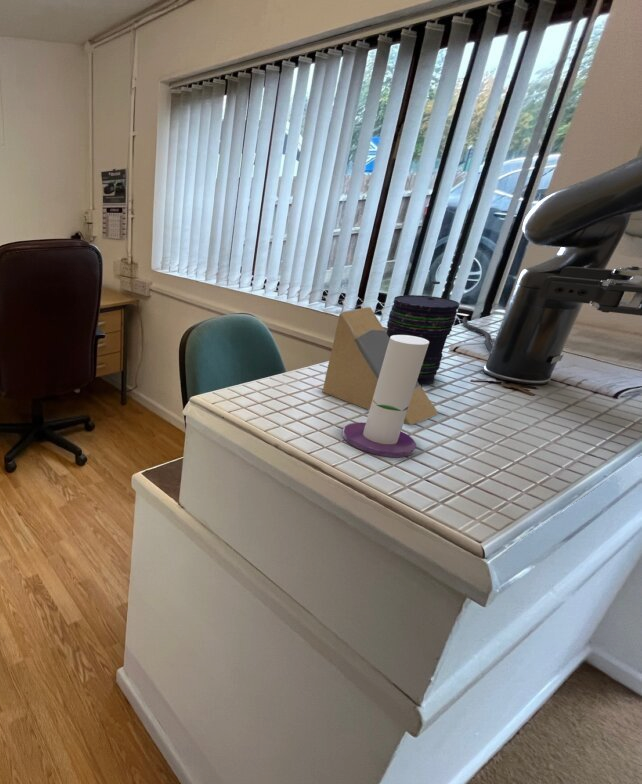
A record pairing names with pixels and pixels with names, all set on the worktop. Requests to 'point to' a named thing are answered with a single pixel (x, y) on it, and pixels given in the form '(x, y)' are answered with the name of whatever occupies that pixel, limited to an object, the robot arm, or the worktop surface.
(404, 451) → the purple disc
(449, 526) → the worktop surface
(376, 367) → the sandwich container
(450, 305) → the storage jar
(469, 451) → the worktop surface
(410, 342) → the tube
